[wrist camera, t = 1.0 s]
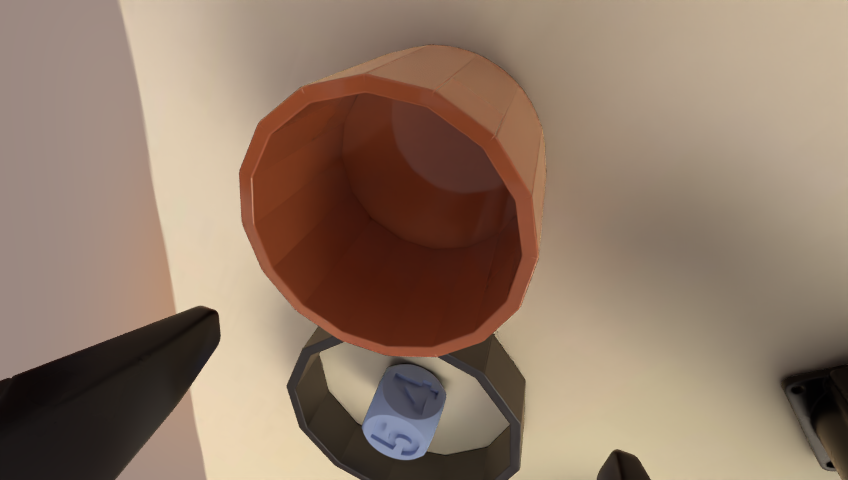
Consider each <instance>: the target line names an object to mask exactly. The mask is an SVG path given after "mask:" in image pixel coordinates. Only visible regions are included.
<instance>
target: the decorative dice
mask: <svg viewBox="0 0 848 480" xmlns="http://www.w3.org/2000/svg"><path fill="white" fill-rule="evenodd" d="M445 400H446V392H445V390H444V388H443V386H442V385H441V383H440V382H439V381H438V379H437V378H436V377H435V376H434V375H433V374H432V373H430V372H429V371H427V370H426V369H424V368H421V367H419V366H416V365H410V364H400V365H395V366H391V367H389V368H387V369H386V371H385V373H384V375H383V377H382V379H381V381H380V384H379V386H378V388H377V390H376V393H375V395H374V397H373V400H372V402H371V404H370V407H369V409H368V412H367V414H366V417H365V419H364V422H363V425H362V430H363V433H364V435H365V437H366V439H367V440H368V442H369V443H370V444H371V445H372V446H373V447H374V448H375V449H376V450H378V451H379V452H381V453H382V454H384V455H386V456H389V457H392V458H395V459H400V460H412V459H416V458H418V457H421V456H423V455H424V454H425V453H426V451H427V449H428V447H429V445H430V443H431V440H432V438H433V436H434V433H435V431H436V428H437V425H438V423H439V420H440V417H441V414H442V411H443V407H444V404H445Z"/></svg>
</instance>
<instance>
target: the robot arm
mask: <svg viewBox="0 0 848 480" xmlns="http://www.w3.org/2000/svg"><path fill="white" fill-rule="evenodd" d="M220 337H221V334H220V324H219V315H218V313H217V311H216V310H213V309H211V308H208V307H205V306H197V307H194V308H191V309H189V310H186V311H183V312H181V313H178V314H176V315H173V316H170V317H168V318H165V319H162V320H160V321H157V322H154V323H152V324H149V325H147V326H144V327H141V328H139V329H136V330H133V331H131V332H128V333H125V334H123V335H120V336H117V337H115V338H112V339H110V340H107V341H104V342H102V343H99V344H96V345H94V346H91V347H88V348H86V349H83V350H81V351H78V352H75V353H73V354H70V355H67V356H65V357H62V358H60V359H57V360H54V361H51V362H49V363H46V364H44V365H41V366H39V367H36V368H33V369H30V370H28V371H25V372H22V373H20V374H17V375H15V376H13V377H12V378H7V379H4V380H1V381H0V480H115V479H116V478H117V477H118V476H119V474H120V473H121V472H122V471H123V470H124V468H125V467H126V466H127V465H128V463H129V462H130V461H131V460H132V459H133V458H134V456H135V455H136V454H137V453H138V452H139V450H140V449H141V448H142V447H143V445H144V444H145V443H146V442H147V441H148V439H149V438H150V437H151V436H152V435H153V434H154V432H155V431H156V430H157V429H158V427H159V426H160V425H161V424H162V423H163V422H164V420H165V419H166V418H167V417H168V416H169V414H170V413H171V412H172V411H173V409H174V408H175V407H176V406H177V404H178V403H179V402H180V400H181V399H182V398H183V396H184V395H185V393H186V392H187V390H188V389H189V387H190V386H191V385H192V383H193V382H194V380H195V379H196V377H197V376H198V374H199V373H200V371H201V370H202V368H203V367H204V365H205V364H206V362H207V361H208V359H209V358H210V356H211V355H212V353H213V352H214V351H215V349H216V348H217V346H218V344H219V341H220ZM781 384H782V388H783V390H784V392H785V394H786V396H787V398H788V400H789V402H790V404H791V406H792V409H793V411H794V413H795V415H796V417H797V419H798V421H799V423H800V425H801V427H802V429H803V431H804V434H805V436H806V438H807V440H808V442H809V444H810V446H811V448H812V450H813V452H814V454H815V457H816V459H817V461H818V462H819V464H820V466H821V467H822V468H823V469H825V470H828V471H837V472H838V474H839V476H840V477H841V479H842V480H848V365H843V366H838V367H833V368H829V369H824V370H819V371H815V372H810V373H805V374H800V375H796V376H791V377H788V378H786V379H784V380H783V381H782V383H781ZM795 386H798V387H796V388H793V387H795ZM597 480H651V479H650V478H649V476H648V474H647V473H646V471H645V469H644V467H643V466H642V464H641V462H640V461H639V459H638V458H637V457H636V456H635V455H633V454H630V453H627V452H624V451H621V450H618V449H616V450H614V451H613V452H612V453H611V454H610V456H609V457H608V459H607V460H606V462H605V463H604V465H603V466H602V468H601V469H600V471H599V473H598V476H597Z"/></svg>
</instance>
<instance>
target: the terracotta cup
mask: <svg viewBox="0 0 848 480" xmlns="http://www.w3.org/2000/svg"><path fill="white" fill-rule="evenodd" d="M546 172H547V170H546V160H545V142H544V136H543V128H542V125H541V124H540V121H539V118H538V115H537V113H536V111H535V109H534V107H533V105H532V103H531V101H530V100H529V98H528V97H527V95H526V94H525V92H524V91H523V89H522V88H521V87H520V86H519V85H518V84H517V82H516V81H515V80H514V79H513V78H512V77H511V76H510V75H509V74H508V73H506V72H505V71H504V70H503V69H502V68H501V67H499V66H498V65H496V64H494V63H493V62H491V61H490V60H488V59H487V58H484V57H482V56H480V55H478V54H476V53H474V52H471V51H467V50H464V49H461V48H457V47H450V46H444V45H434V44H432V45H431V44H429V45H425V46H419V47H412V48H409V49H406V50H402V51H397V52H393V53H388V54H386V55H383V56H380V57H378V58H375V59H372V60H370V61H367V62H364V63H362V64H359V65H357V66H354V67H351V68H349V69H346V70H343V71H341V72H338V73H335V74H333V75H330V76H328V77H325V78H322V79H320V80H317V81H314V82H312V83H309V84H307V85H304V86H302V87H300V88H299V89H298V90H296V91H295V92H294V93H293V94H292V95H290V96H289V97H288V98H287V99H286V100H284V101H283V102H282V103H281V104H280V105H279V106H277V107H276V108H275V109H274V110H273V111H271V112H270V113H269V114H268V115H267V116H265V117H264V118H263V119H262V120H261V121H260V122H259V123H258V125H257V127H256V130H255V132H254V135H253V138H252V140H251V143H250V145H249V148H248V150H247V153H246V155H245V158H244V160H243V163H242V165H241V168H240V172H239V181H240V199H241V217H242V223H243V224H242V225H243V227H244V229H245V232H246V234H247V236H248V239H249V241H250V243H251V246H252V248H253V250H254V253H255V255H256V257H257V260H258V262H259V264H260V266H261V269H262V270H263V272H264V273H265V275H266V276H267V277H268V278H269V279H270V281H271V282H272V283H273V284H274V285H275V286H276V288H277V289H278V290H279V291H280V292H281V293H282V295H283V296H284V297H285V298H286V299H287V300H288V302H289V303H290V304H291V305H292V306H293V308H294V309H295V310H297V312H299V313H300V314H302V315H303V316H305V317H306V318H308V319H309V320H311V321H312V322H314V323H315V324H317V325H318V326H319V327H321V328H322V329H324V330H325V331H327V332H328V333H330V334H331V335H333V336H334V337H336V338H337V339H340V340H341V341H344V342H347V343H350V344H353V345H356V346H359V347H362V348H365V349H368V350H371V351H374V352H377V353H380V354H383V355H388V356H410V357H439V356H442V355H445V354H448V353H451V352H454V351H457V350H460V349H463V348H466V347H469V346H472V345H475V344H478V343H481V342H483V341H485V340H486V339H487V338H488V337H489V336H490V335H491V334H492V333H493V332H494V331H496V330H497V329H498V328H499V327H500V326H501V325H502V324H503V323H504V322H505V321H506V320H508V319H509V318H510V317H511V316H512V315H513V314H514V313H515V312H516V311H517V310H518V309H519V308H520V307H521V305H522V302H523V300H524V297H525V294H526V292H527V289H528V286H529V283H530V281H531V278H532V275H533V273H534V270H535V267H536V265H537V262H538V259H539V251H540V239H541V228H542V217H543V205H544V194H545V183H546Z"/></svg>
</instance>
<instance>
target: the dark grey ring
mask: <svg viewBox="0 0 848 480" xmlns="http://www.w3.org/2000/svg"><path fill="white" fill-rule="evenodd" d="M343 342H344V341H341V340H340V339H337V338H336V337H334V336H333V335H331V334H330V333H328V332H327V331H325V330H324V329H322V328H321V327H318V328H317V330H316V331H315V332H314V334H313V335H312V337H311V338H310V339H309V341H308V342H307V343H306V345H305V346H304V348H303V349H302V351H301V353H300V356H299V358H298V360H297V363H296V365H295V367H294V370H293V372H292V374H291V377H290V379H289V381H288V384H287V390H288V393H289V396H290V399H291V402H292V405H293V408H294V412H295V415H296V418H297V421H298V424H299V427H300V429H301V430H302V431H303V432H304V433H305V434H306V435H307V436H308V437H309V438H310V439H311V440H312V442H313V443H314V444H315V445H316V446H317V447H318V448H319V449H320V450H321V451H322V452H323V453H324V454H325V455H326V456H327V457H328V459H329V460H330V461H331V462H332V463H333V464H334V465H335V466H337V467H339V468H340V469H342V470H344V471H346V472H348V473H350V474H351V475H353V476H355V477H357V478H359V479H360V480H508V479H509V478H510V477H512V476H513V475H514V474H515V473H516V472H517V471H519V470H520V464H521V453H522V441H523V430H524V410H525V379H524V378H523V376H522V375H521V373H520V372H519V370H518V369H517V368H516V366H515V365H514V363H513V362H512V360H511V359H510V358H509V356H508V355H507V353H506V352H505V351H504V349H503V348H502V346H501V345H500V343H499V342H498V341H497V339H496V338H495V336H494V335H493V334H491V335H490V336H489V337H488V338H487V339H486V340H485V341H483V342H481V343H478V344H475V345H472V346H469V347H466V348H463V349H460V350H457V351H454V352H451V353H448V354H445V355H442V356H439V357H438V358H440V359H442V360H444V361H446V362H447V363H449V364H451V365H453V366H455V367H457V368H458V369H460V370H462V371H464V372H466V373H467V374H469V375H471V376H473V377H475V378H476V379H477V380H478V382H479V383H480V384H481V386H482V387H483V388H484V390H485V391H486V392H487V394H488V395H489V396H490V398H491V399H492V400H493V402H494V403H495V404H496V406H497V407H498V408H499V410H500V411H501V412H502V414H503V415H504V417H505V418H506V419H507V421H508V422H509V423H510V426H509V427H508V428H507V429H506V430H505V431H504V432H503V433H502V434H501V435H500V436H499V437H498V438H497V439H496V440H495V441H494V442H493V443H492V444H491V445H490V446H489V447H487V448H482V449H478V450H473V451H468V452H463V453H458V454H453V455H448V456H444V455H439V454H433V453H428V452H426V453H425V454H424V455H423V456H421V457H418V458H416V459H412V460H400V459H395V458H392V457H389V456H386V455H384V454H382V453H381V452H379V451H378V450H376V449H375V448H374V447H373V446H372V445H371V444H370V443H369V442H368V440H367V439H366V437H365V435H364V433H363V430H362V426H360V425H358V424H357V423H356V422H355V421H354V420H353V418H352V417H351V416H350V415H349V414H348V413H347V412H346V411H345V409H344V408H343V407H342V406H341V405H340V404H339V403H338V401H337V400H336V399H335V398H334V397H333V396H332V395H331V394H330V392H329V391H328V387H327V384H326V380H325V376H324V372H323V368H322V364H321V360H320V356H319V353H320V352H321V351H323V350H326V349H328V348H330V347H333V346H335V345H338V344H340V343H343Z"/></svg>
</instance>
